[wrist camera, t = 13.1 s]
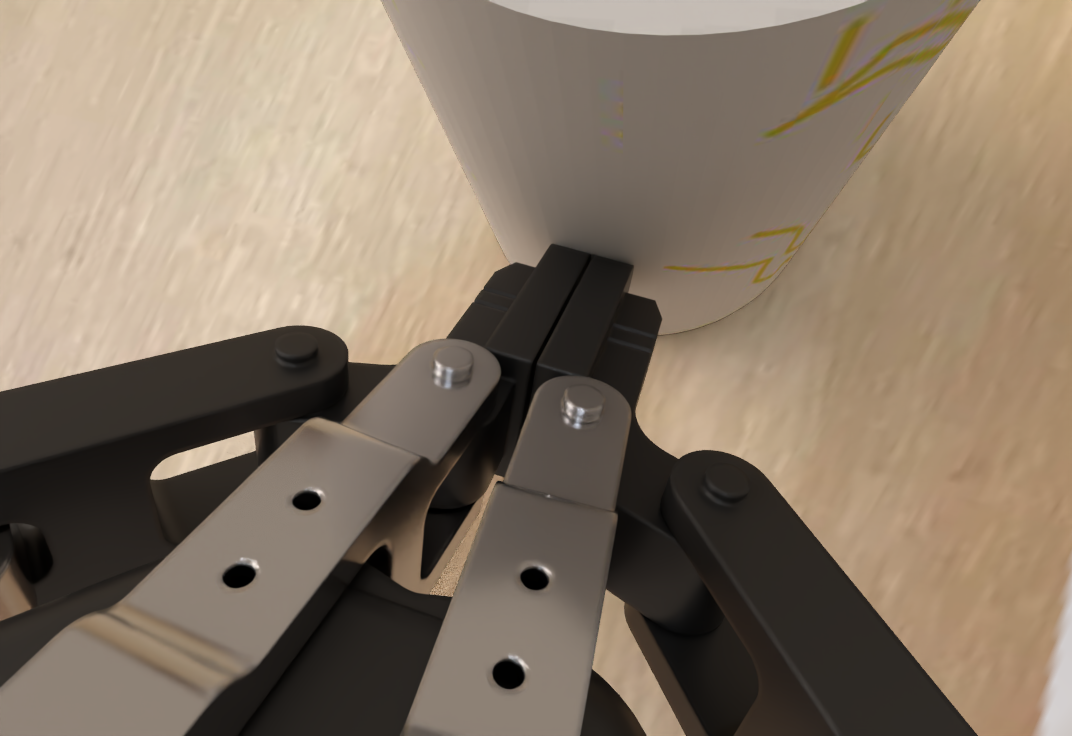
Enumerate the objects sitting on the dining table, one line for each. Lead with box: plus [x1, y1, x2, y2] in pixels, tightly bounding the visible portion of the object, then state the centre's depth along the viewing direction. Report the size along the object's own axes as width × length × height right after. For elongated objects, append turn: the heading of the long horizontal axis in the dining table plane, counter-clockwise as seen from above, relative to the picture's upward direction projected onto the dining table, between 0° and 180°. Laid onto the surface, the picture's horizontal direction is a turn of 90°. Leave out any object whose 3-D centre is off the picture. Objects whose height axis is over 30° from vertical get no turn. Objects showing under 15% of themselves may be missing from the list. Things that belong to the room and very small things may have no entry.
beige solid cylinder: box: [381, 0, 980, 335], centre depth 13 cm, size 8×8×12 cm
